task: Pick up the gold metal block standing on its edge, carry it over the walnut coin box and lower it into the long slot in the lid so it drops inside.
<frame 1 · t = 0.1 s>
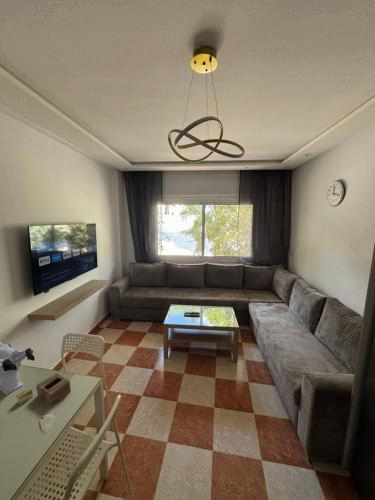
hand: (25, 363, 107), 22 cm above the table, fingers open, 7 cm apart
arrowhead: (48, 424, 100), on the table
gold metal block: (24, 399, 112), on the table
coin box: (54, 393, 116), on the table
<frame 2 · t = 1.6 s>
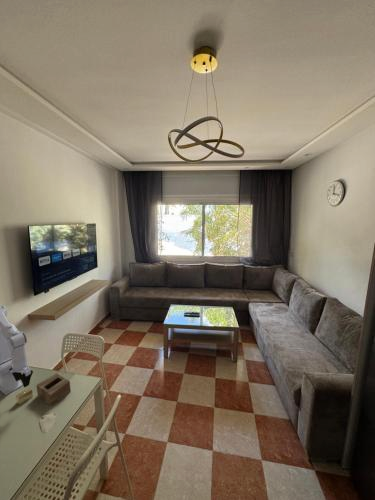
hand: (22, 382, 111), 9 cm above the table, fingers open, 7 cm apart
nothing on the table moved.
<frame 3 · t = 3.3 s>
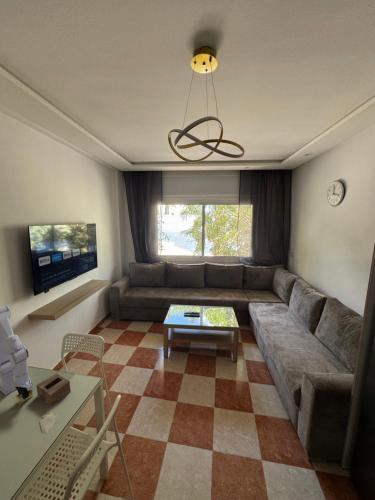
hand: (24, 396, 112), 2 cm above the table, fingers closed on gold metal block, 2 cm apart
gold metal block: (24, 399, 112), on the table, touching gripper
everything else where it was.
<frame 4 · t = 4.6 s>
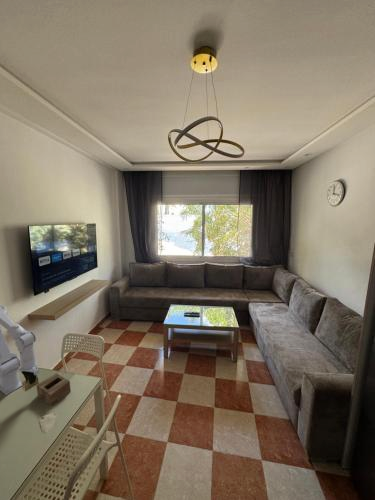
hand: (31, 381, 112), 9 cm above the table, fingers closed on gold metal block, 2 cm apart
gold metal block: (30, 386, 112), point 7 cm above the table, touching gripper
everything else where it was.
when the fingers open (7 cm above the table, at t = 6.2 s): gold metal block drops 4 cm, resting in coin box.
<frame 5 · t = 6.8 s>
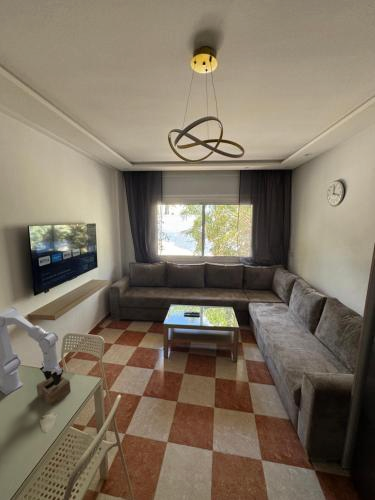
hand: (53, 381, 115), 7 cm above the table, fingers open, 7 cm apart
gold metal block: (54, 394, 116), resting in coin box
everything else where it was.
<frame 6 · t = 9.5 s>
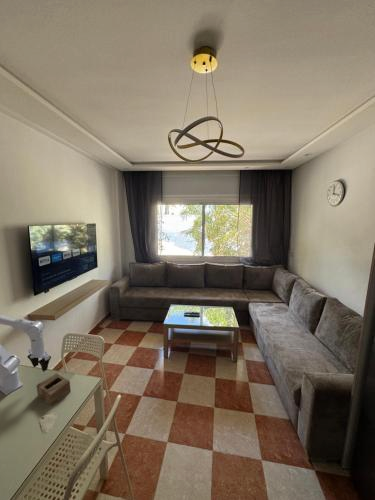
hand: (40, 368, 120), 10 cm above the table, fingers open, 7 cm apart
nothing on the table moved.
at the end: gold metal block inside the target area on the coin box (0.2 cm from its centre), point 0.0 cm above the coin box's base; the gripper is holding nothing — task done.
